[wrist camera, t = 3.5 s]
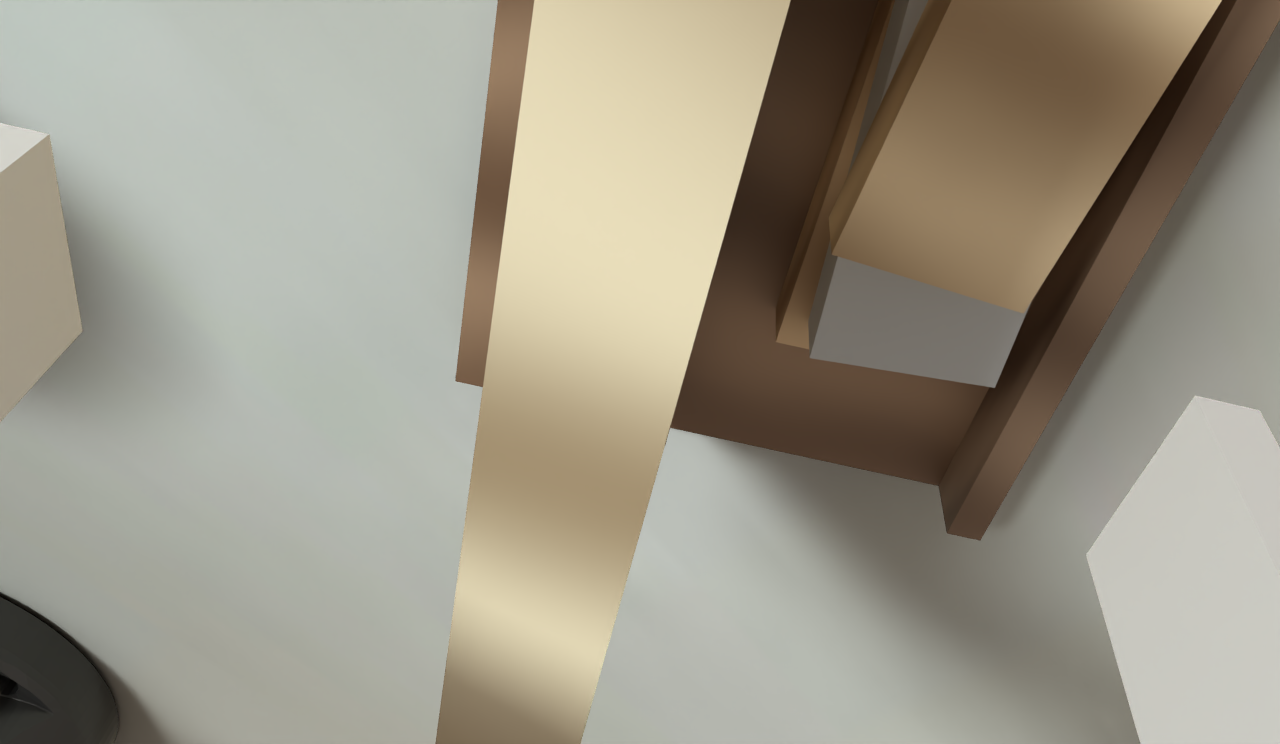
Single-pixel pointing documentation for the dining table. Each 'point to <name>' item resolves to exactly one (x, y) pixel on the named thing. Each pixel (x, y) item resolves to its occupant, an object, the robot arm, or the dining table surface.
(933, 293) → the offcut middle
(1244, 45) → the rack
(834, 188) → the offcut bottom
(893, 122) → the offcut top
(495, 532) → the sheet
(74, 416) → the dining table surface
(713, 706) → the dining table surface
